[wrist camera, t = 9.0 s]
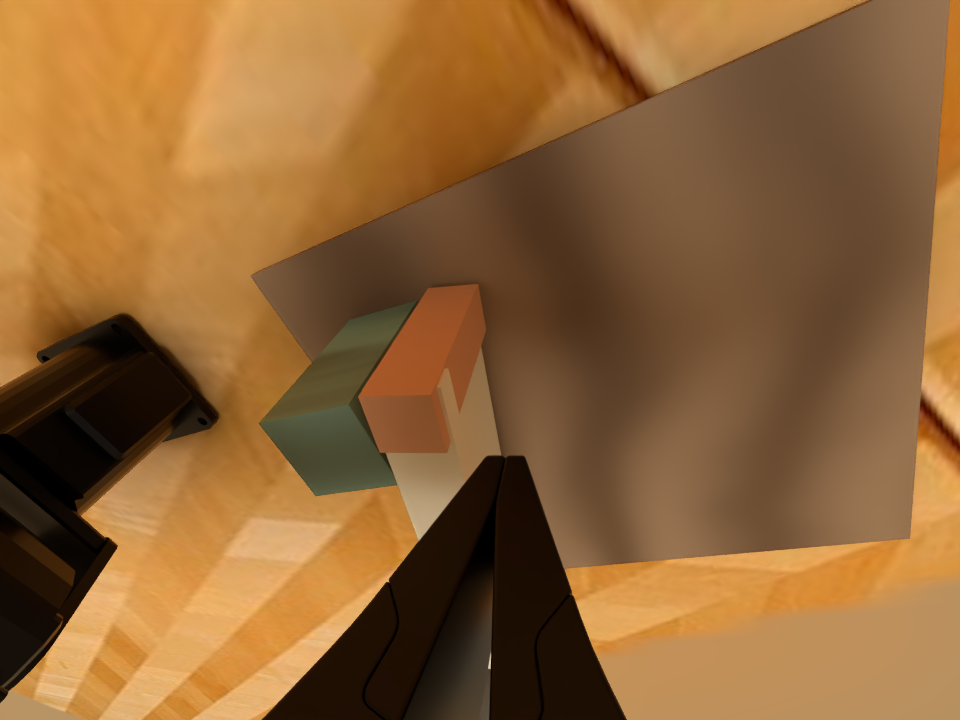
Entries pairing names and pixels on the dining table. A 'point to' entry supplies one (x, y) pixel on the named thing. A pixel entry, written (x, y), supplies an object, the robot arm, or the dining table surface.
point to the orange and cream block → (434, 402)
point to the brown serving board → (672, 304)
